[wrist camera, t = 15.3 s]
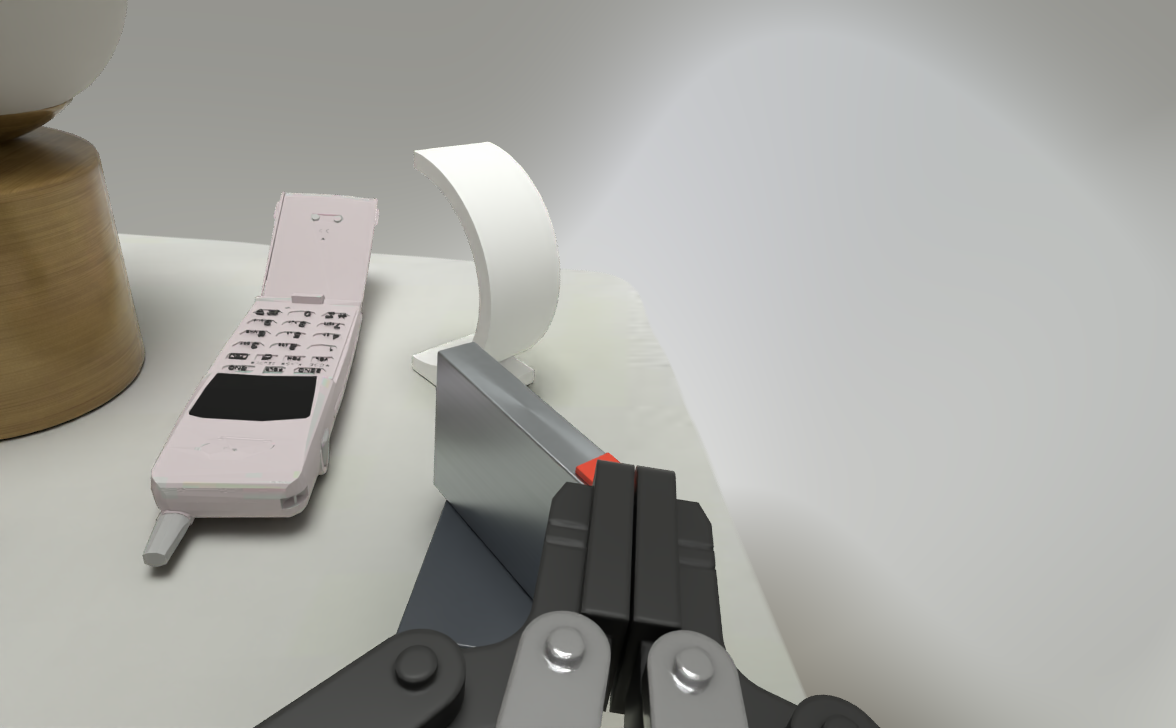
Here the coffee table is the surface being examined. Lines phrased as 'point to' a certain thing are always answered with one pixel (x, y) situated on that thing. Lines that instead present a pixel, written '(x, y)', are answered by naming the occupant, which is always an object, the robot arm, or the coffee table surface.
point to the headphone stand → (498, 251)
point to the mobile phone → (272, 378)
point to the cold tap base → (465, 589)
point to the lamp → (58, 223)
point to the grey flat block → (503, 456)
